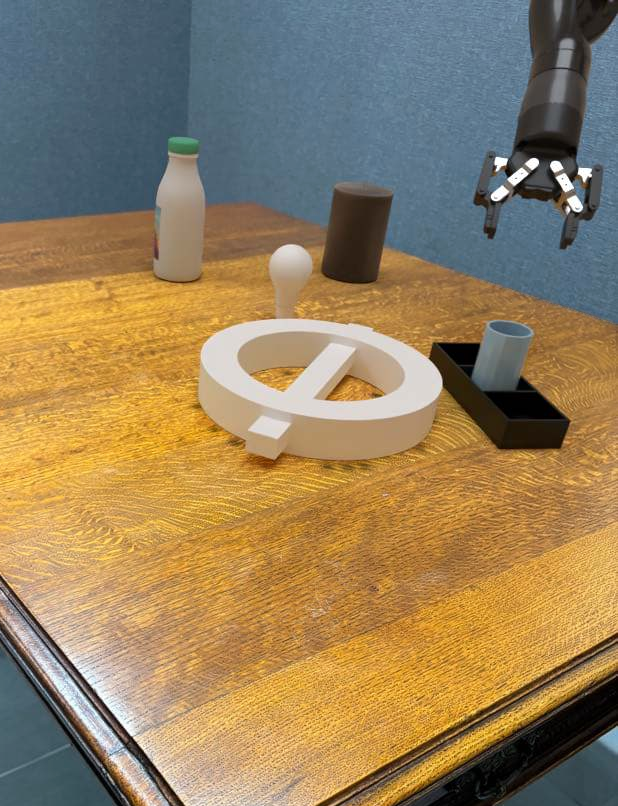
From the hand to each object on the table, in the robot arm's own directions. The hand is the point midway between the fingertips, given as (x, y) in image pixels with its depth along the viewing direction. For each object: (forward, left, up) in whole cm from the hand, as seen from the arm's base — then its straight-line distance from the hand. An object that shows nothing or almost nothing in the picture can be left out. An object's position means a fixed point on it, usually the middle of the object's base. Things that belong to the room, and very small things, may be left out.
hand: (527, 240), depth 98 cm
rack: (+4, +9, -17) cm, 20 cm away
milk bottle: (+37, -37, -18) cm, 55 cm away
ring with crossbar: (+26, +8, -18) cm, 32 cm away
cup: (+4, +9, -17) cm, 19 cm away
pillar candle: (+7, -40, -18) cm, 45 cm away
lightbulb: (+24, -17, -18) cm, 34 cm away
